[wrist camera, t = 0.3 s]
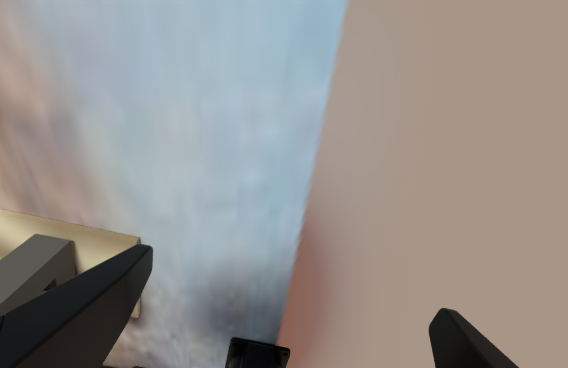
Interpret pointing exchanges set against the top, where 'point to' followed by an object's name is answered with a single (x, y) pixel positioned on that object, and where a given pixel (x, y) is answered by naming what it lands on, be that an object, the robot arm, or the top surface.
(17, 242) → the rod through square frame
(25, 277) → the grey square collar
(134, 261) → the robot arm
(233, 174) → the top surface
